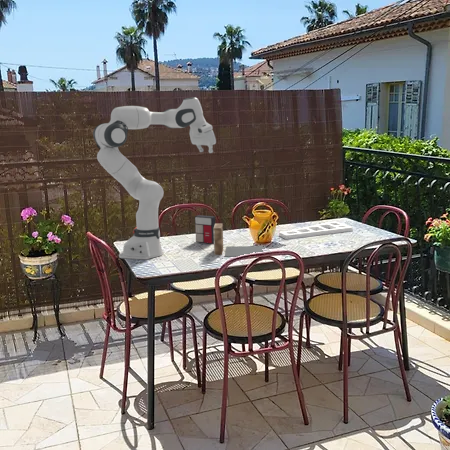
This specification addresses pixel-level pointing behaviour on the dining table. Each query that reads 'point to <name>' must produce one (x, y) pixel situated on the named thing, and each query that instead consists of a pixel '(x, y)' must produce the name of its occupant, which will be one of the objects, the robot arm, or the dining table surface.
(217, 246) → the tall block
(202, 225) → the grey and red box
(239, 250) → the mat
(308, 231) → the holder
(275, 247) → the dining table surface
